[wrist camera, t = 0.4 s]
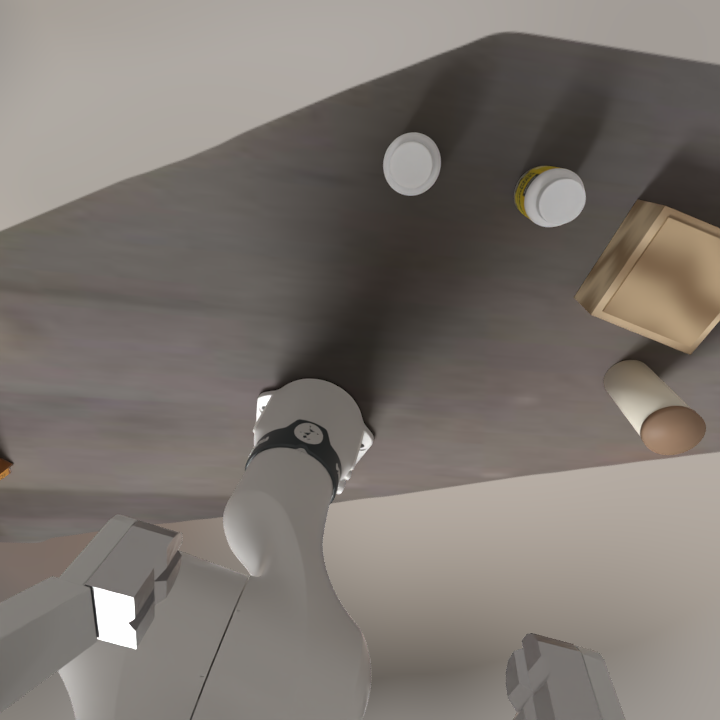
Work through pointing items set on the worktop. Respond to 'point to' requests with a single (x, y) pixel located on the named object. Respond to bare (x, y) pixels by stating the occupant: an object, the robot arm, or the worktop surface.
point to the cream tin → (653, 408)
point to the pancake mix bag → (4, 468)
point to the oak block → (658, 277)
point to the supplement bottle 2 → (550, 195)
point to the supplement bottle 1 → (412, 164)
